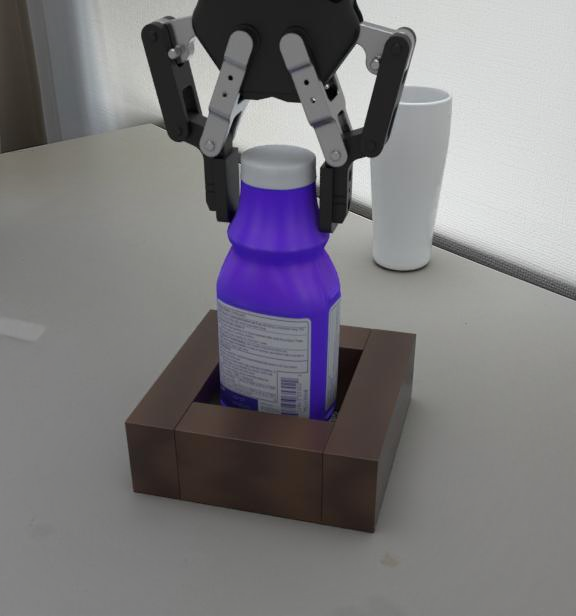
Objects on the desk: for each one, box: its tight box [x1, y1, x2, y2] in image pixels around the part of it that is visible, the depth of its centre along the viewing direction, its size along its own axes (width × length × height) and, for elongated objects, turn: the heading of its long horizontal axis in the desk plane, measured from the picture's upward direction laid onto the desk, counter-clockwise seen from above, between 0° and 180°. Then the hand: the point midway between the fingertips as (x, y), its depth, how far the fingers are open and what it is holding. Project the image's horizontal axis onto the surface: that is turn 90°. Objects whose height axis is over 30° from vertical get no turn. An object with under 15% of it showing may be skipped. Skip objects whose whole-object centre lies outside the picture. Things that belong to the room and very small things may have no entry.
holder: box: [124, 309, 417, 533], centre depth 55 cm, size 14×14×5 cm
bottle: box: [215, 143, 342, 422], centre depth 51 cm, size 7×6×17 cm
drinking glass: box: [369, 84, 453, 272], centre depth 76 cm, size 7×7×15 cm
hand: (278, 221), depth 48 cm, fingers closed on bottle, 5 cm apart
